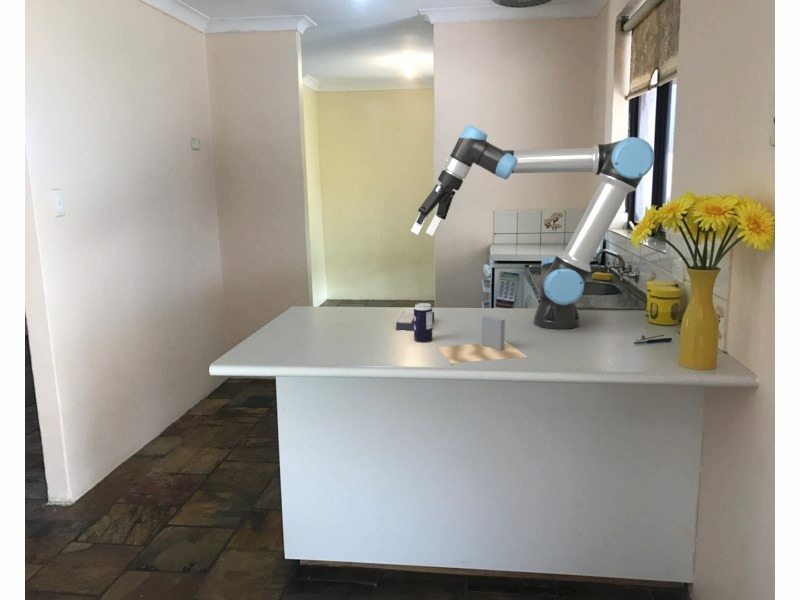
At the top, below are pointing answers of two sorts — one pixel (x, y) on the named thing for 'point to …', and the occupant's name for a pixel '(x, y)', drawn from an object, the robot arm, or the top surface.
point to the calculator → (408, 321)
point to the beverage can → (423, 322)
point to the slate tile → (493, 332)
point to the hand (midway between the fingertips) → (422, 233)
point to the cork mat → (478, 353)
